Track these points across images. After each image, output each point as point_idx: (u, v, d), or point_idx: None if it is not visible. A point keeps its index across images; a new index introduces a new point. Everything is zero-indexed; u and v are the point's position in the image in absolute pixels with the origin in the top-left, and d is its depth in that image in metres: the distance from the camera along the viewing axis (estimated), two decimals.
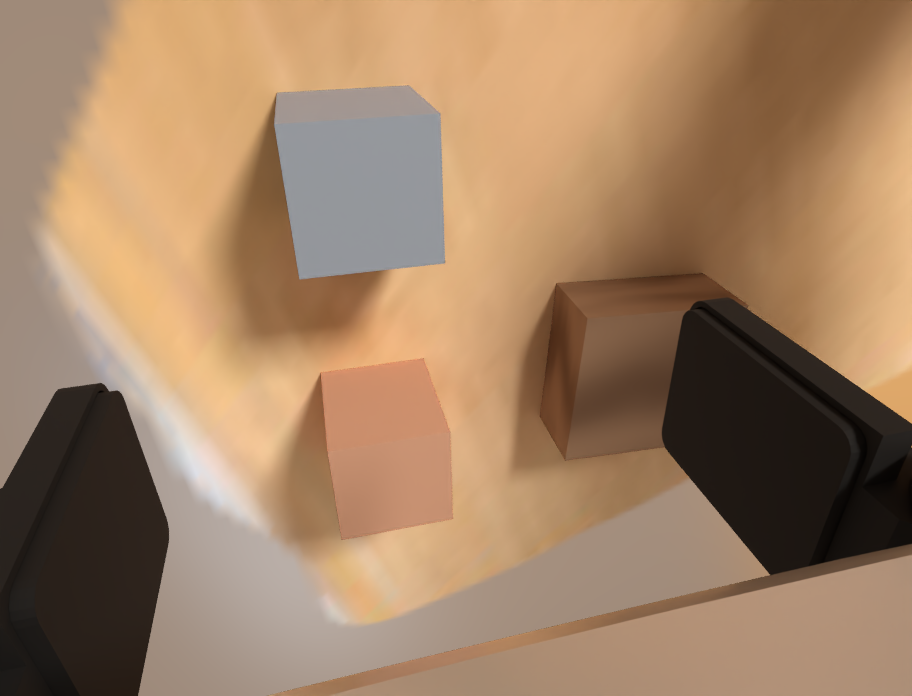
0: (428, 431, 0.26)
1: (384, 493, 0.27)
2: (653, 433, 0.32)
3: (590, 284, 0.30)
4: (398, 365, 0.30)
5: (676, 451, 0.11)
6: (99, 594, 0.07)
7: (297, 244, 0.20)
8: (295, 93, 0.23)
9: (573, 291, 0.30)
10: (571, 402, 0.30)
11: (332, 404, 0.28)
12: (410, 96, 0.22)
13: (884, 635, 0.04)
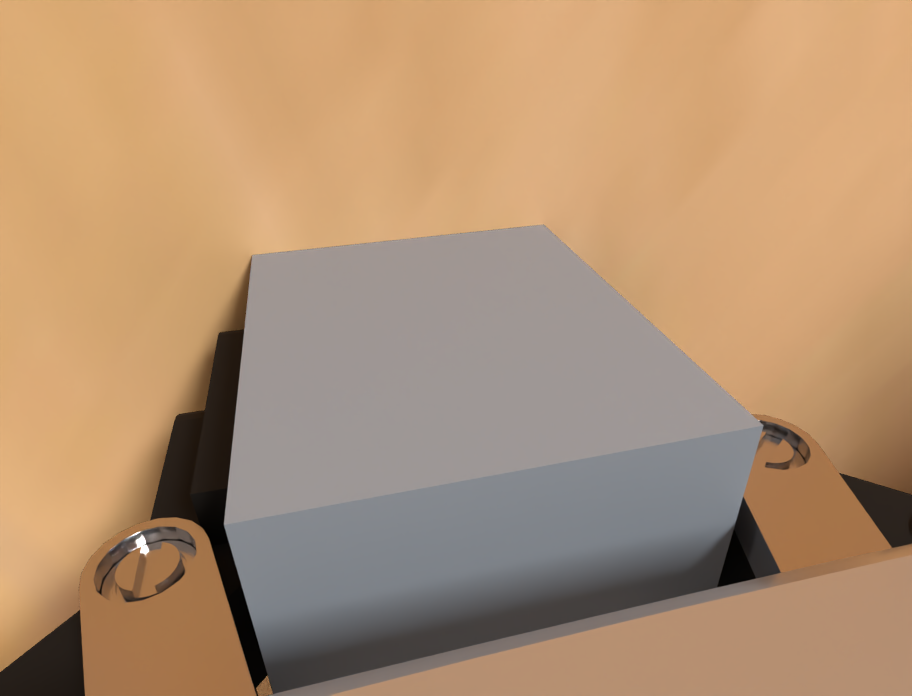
0: None
1: None
2: None
3: None
4: None
5: None
6: None
7: None
8: (295, 261, 0.10)
9: None
10: None
11: None
12: (583, 285, 0.09)
13: (883, 633, 0.04)
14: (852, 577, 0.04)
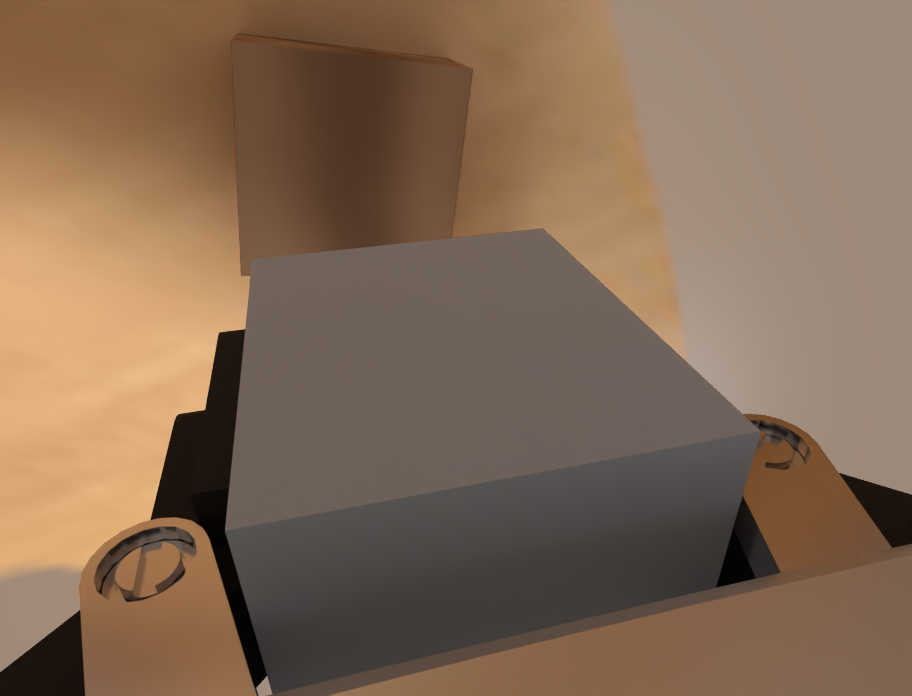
0: None
1: None
2: (434, 163, 0.23)
3: None
4: None
5: None
6: None
7: None
8: (295, 265, 0.10)
9: None
10: None
11: None
12: (582, 290, 0.09)
13: (883, 635, 0.04)
14: (852, 577, 0.04)
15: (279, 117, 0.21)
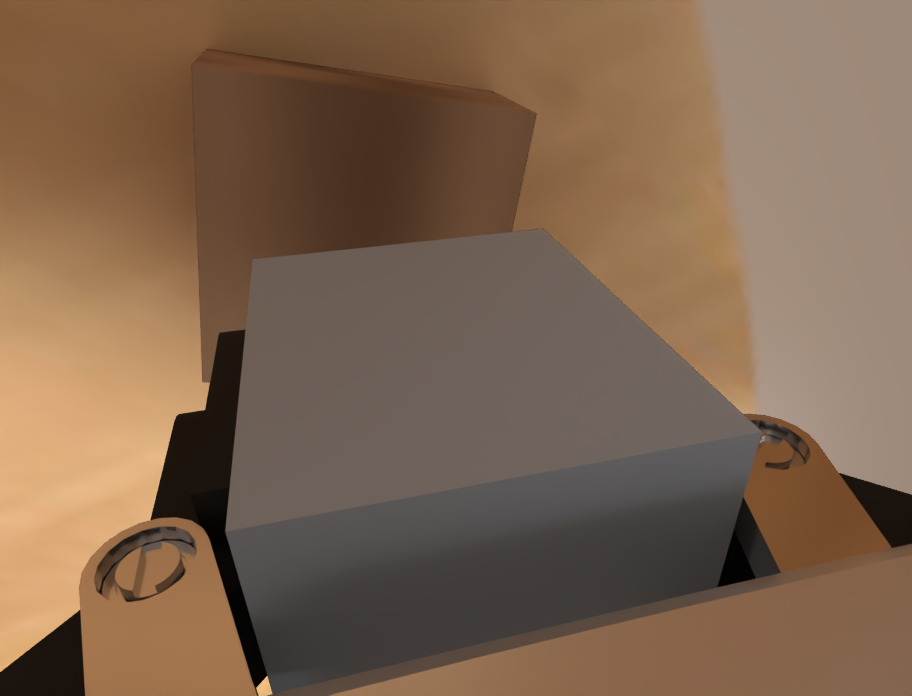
0: None
1: None
2: None
3: None
4: None
5: None
6: None
7: None
8: (296, 265, 0.10)
9: None
10: None
11: None
12: (583, 290, 0.09)
13: (883, 633, 0.04)
14: (852, 577, 0.04)
15: (262, 173, 0.15)
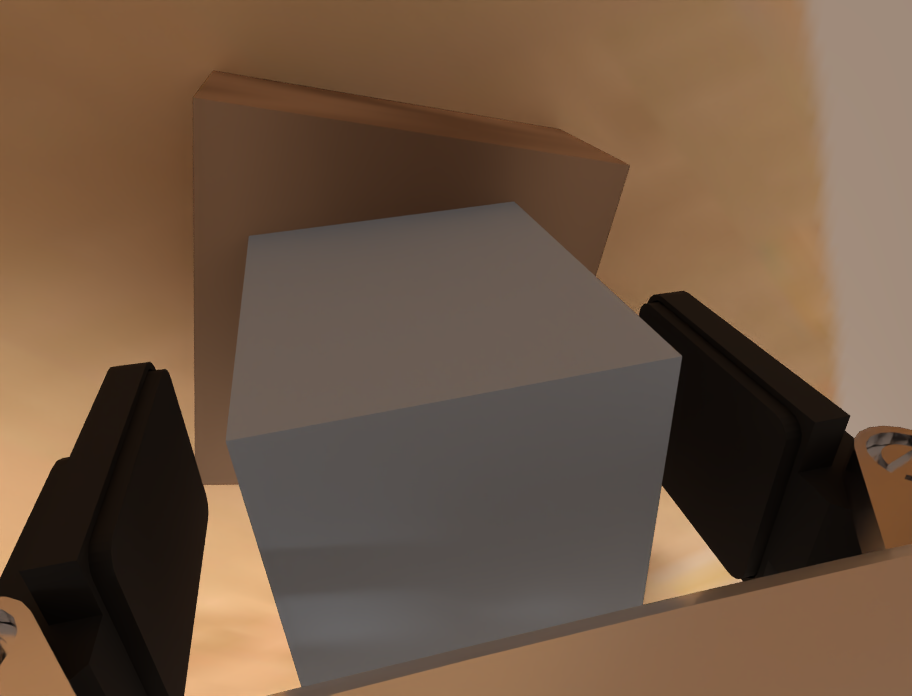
0: None
1: None
2: None
3: None
4: None
5: None
6: (158, 556, 0.08)
7: (304, 663, 0.08)
8: (287, 239, 0.11)
9: None
10: None
11: None
12: (543, 251, 0.10)
13: (883, 633, 0.04)
14: (852, 577, 0.04)
15: None
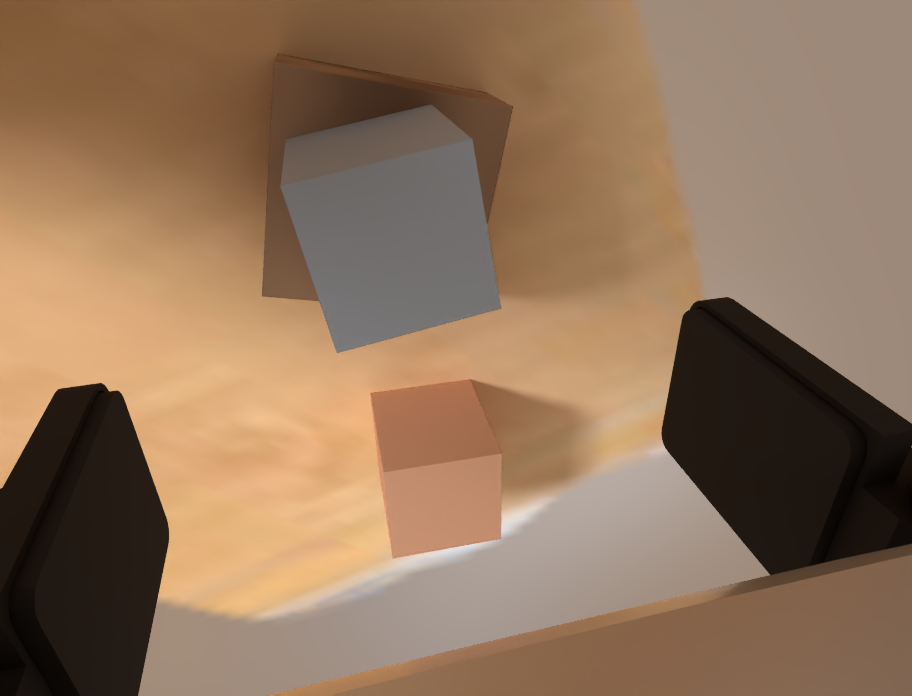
0: (384, 484, 0.26)
1: (451, 513, 0.27)
2: None
3: None
4: (373, 418, 0.31)
5: (676, 451, 0.11)
6: (99, 594, 0.07)
7: (329, 314, 0.18)
8: (305, 137, 0.20)
9: None
10: None
11: (384, 502, 0.30)
12: (434, 119, 0.19)
13: (883, 633, 0.04)
14: (852, 577, 0.04)
15: None
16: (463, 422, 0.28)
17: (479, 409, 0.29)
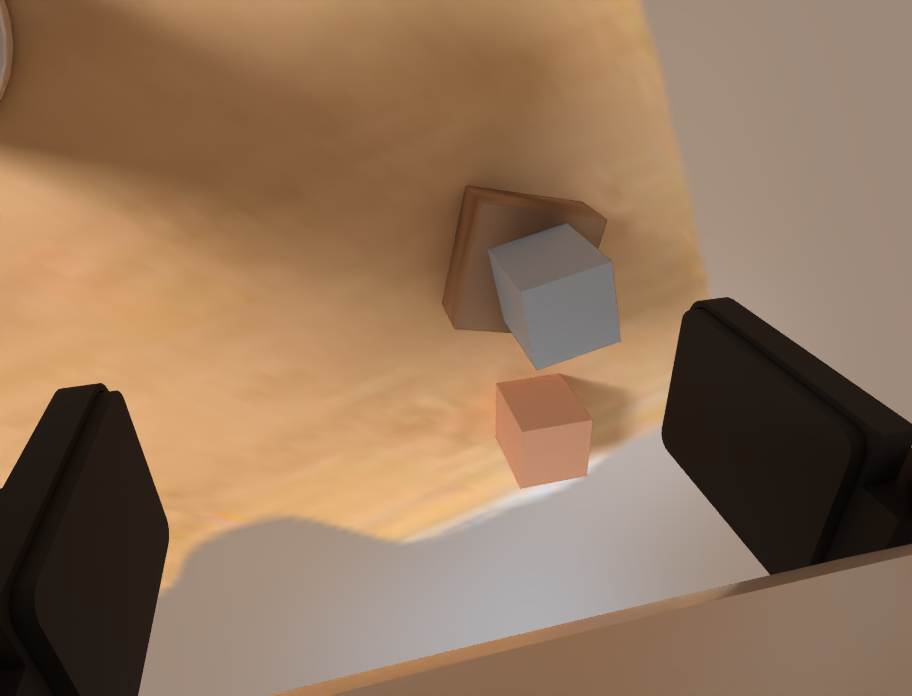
0: (520, 440, 0.42)
1: (558, 458, 0.43)
2: None
3: (447, 283, 0.41)
4: (497, 400, 0.47)
5: (676, 451, 0.11)
6: (99, 594, 0.07)
7: (535, 351, 0.34)
8: (500, 248, 0.36)
9: (446, 303, 0.41)
10: None
11: (506, 455, 0.46)
12: (578, 240, 0.35)
13: (884, 634, 0.04)
14: (852, 577, 0.04)
15: (497, 242, 0.36)
16: (563, 401, 0.44)
17: (571, 393, 0.45)
